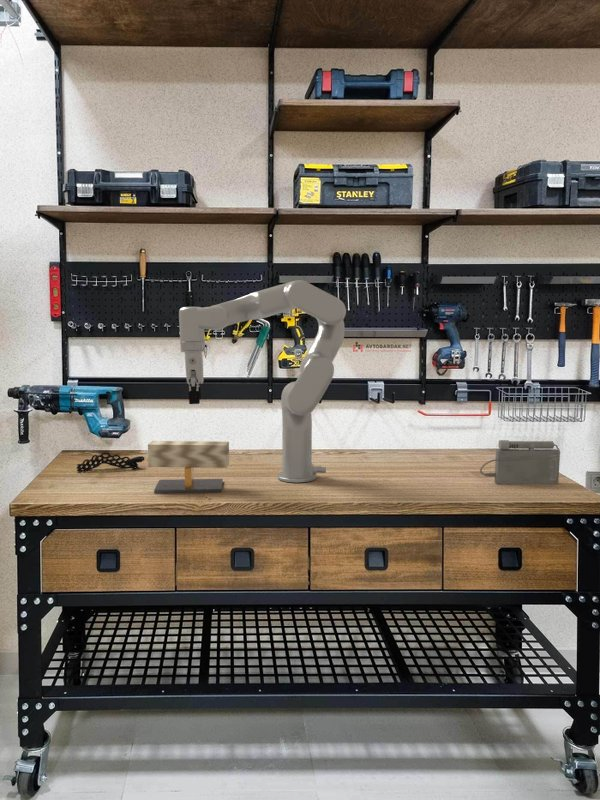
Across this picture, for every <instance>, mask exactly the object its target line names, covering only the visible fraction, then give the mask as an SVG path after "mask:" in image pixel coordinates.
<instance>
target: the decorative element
mask: <svg viewBox="0 0 600 800" xmlns="http://www.w3.org/2000/svg"><path fill="white" fill-rule="evenodd" d="M104 455H107V456H104ZM115 457H117V458H115ZM125 459H126V460H125ZM144 461H145V456H143V455H142V456H139V455H138V456H135V457H133V458H130V457H129V456H123V457H121V456H120V455H119V454H114V455H111V454H110V453H109V452H106V451H105V452H104V451H103V452H102V453H101V454H99V455H97V454H94V455H92V457H91V458H90V459H87V458H86V459H84V460H83V461H82V463H78V464H76V472H88V471H91V470H93V469H97V468H98V467H100V466H101V465H104V464H105V465H108V466H112V467H115V468H117V467H118V468H120V469H131V470H133V469H137V470H138V468H139V464H138V463H142V462H144ZM134 467H136V468H134Z"/></svg>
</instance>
